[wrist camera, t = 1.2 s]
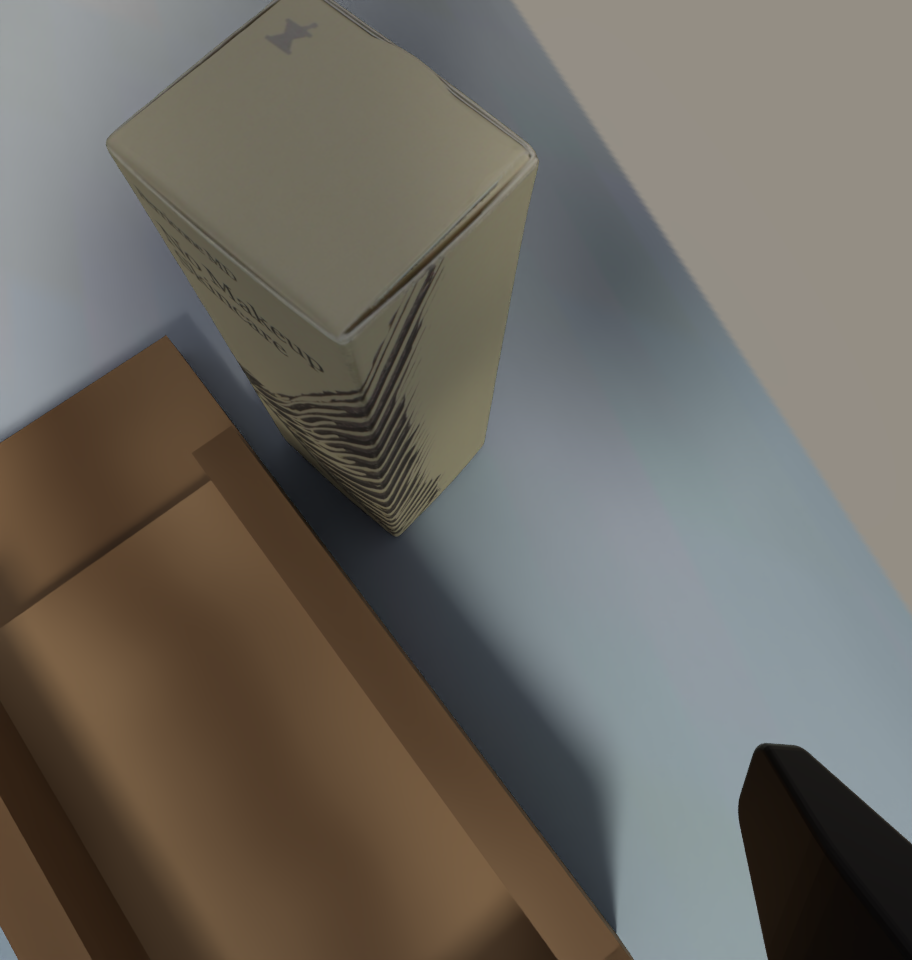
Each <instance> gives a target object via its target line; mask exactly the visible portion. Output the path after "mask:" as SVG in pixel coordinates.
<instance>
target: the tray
mask: <svg viewBox="0 0 912 960" xmlns="http://www.w3.org/2000/svg"><path fill="white" fill-rule="evenodd" d="M0 926H1V928H2V930H3V932H4V934H5V936H6V938H7V939H8V941H9V943H10V945H11V947H12V949H13V951H14V952H15V954H16V956H17V958H18V960H634V959H633V958H632V956H631V955H630V953H629V952H628V950H627V949H626V947H625V946H624V944H623V943H622V941H621V940H620V938H619V937H618V936H617V934H616V933H615V931H614V930H613V929H612V927H611V926H610V925H609V923H608V922H607V921H606V919H605V918H604V917H603V915H602V914H601V913H600V911H599V910H598V909H597V907H596V906H595V905H594V904H593V902H592V901H591V900H590V898H589V897H588V896H587V894H586V893H585V892H584V890H583V889H582V888H581V886H580V885H579V884H578V882H577V881H576V880H575V878H574V877H573V876H572V874H571V873H570V872H569V870H568V869H567V868H566V866H565V865H564V864H563V862H562V861H561V860H560V858H559V857H558V856H557V854H556V853H555V852H554V850H553V849H552V848H551V846H550V845H549V844H548V842H547V841H546V840H545V838H544V837H543V836H542V834H541V833H540V832H539V830H538V829H537V828H536V826H535V825H534V824H533V822H532V821H531V820H530V818H529V817H528V816H527V814H526V813H525V812H524V810H523V809H522V808H521V806H520V805H519V804H518V802H517V801H516V800H515V798H514V797H513V796H512V794H511V793H510V792H509V790H508V789H507V788H506V786H505V785H504V784H503V782H502V781H501V780H500V778H499V777H498V776H497V774H496V773H495V772H494V770H493V769H492V768H491V766H490V765H489V764H488V762H487V761H486V760H485V758H484V757H483V756H482V754H481V753H480V752H479V750H478V749H477V748H476V746H475V745H474V744H473V742H472V741H471V740H470V738H469V737H468V736H467V734H466V733H465V732H464V730H463V729H462V728H461V726H460V725H459V724H458V722H457V721H456V720H455V718H454V717H453V716H452V714H451V713H450V712H449V710H448V709H447V708H446V706H445V705H444V704H443V702H442V701H441V700H440V698H439V697H438V696H437V694H436V693H435V692H434V690H433V689H432V688H431V686H430V685H429V684H428V682H427V681H426V680H425V678H424V677H423V676H422V674H421V673H420V672H419V670H418V669H417V668H416V666H415V665H414V664H413V662H412V661H411V660H410V658H409V657H408V656H407V654H406V653H405V652H404V650H403V649H402V648H401V646H400V645H399V644H398V642H397V641H396V640H395V638H394V637H393V636H392V634H391V633H390V632H389V630H388V629H387V628H386V626H385V625H384V624H383V622H382V621H381V620H380V618H379V617H378V616H377V614H376V613H375V612H374V610H373V609H372V608H371V606H370V605H369V604H368V602H367V601H366V600H365V598H364V597H363V596H362V594H361V593H360V592H359V590H358V589H357V588H356V586H355V585H354V584H353V582H352V581H351V580H350V578H349V577H348V576H347V574H346V573H345V572H344V570H343V569H342V568H341V567H340V565H339V564H338V563H337V561H336V560H335V559H334V557H333V556H332V555H331V553H330V552H329V551H328V549H327V548H326V547H325V545H324V544H323V543H322V541H321V540H320V539H319V537H318V536H317V535H316V533H315V532H314V531H313V529H312V528H311V527H310V525H309V524H308V523H307V521H306V520H305V519H304V517H303V516H302V515H301V513H300V512H299V511H298V509H297V508H296V507H295V505H294V504H293V503H292V501H291V500H290V499H289V497H288V496H287V495H286V493H285V492H284V491H283V489H282V488H281V487H280V485H279V484H278V483H277V481H276V480H275V479H274V477H273V476H272V475H271V473H270V472H269V471H268V469H267V468H266V467H265V465H264V464H263V463H262V461H261V460H260V459H259V457H258V456H257V455H256V453H255V452H254V451H253V449H252V448H251V447H250V445H249V444H248V443H247V441H246V440H245V439H244V437H243V436H242V435H241V433H240V432H239V431H238V429H237V428H236V427H235V425H234V424H233V423H232V421H231V420H230V419H229V417H228V416H227V415H226V413H225V412H224V411H223V409H222V408H221V407H220V405H219V404H218V403H217V401H216V400H215V399H214V397H213V396H212V395H211V393H210V392H209V391H208V389H207V388H206V387H205V385H204V384H203V383H202V381H201V380H200V379H199V377H198V376H197V375H196V373H195V372H194V371H193V369H192V368H191V367H190V365H189V364H188V363H187V361H186V360H185V359H184V357H183V356H182V355H181V353H180V352H179V351H178V350H177V348H176V347H175V346H174V345H173V343H172V342H171V341H170V340H169V338H168V337H167V336H164V337H163V338H161V339H160V340H158V341H157V342H155V343H153V344H152V345H150V346H149V347H147V348H146V349H144V350H143V351H141V352H140V353H138V354H137V355H135V356H133V357H132V358H130V359H129V360H127V361H126V362H124V363H123V364H121V365H120V366H118V367H117V368H115V369H114V370H112V371H110V372H109V373H107V374H106V375H104V376H103V377H101V378H100V379H98V380H97V381H95V382H94V383H92V384H90V385H89V386H87V387H86V388H84V389H83V390H81V391H80V392H78V393H77V394H75V395H74V396H72V397H70V398H69V399H67V400H66V401H64V402H63V403H61V404H60V405H58V406H57V407H55V408H54V409H52V410H50V411H49V412H47V413H46V414H44V415H43V416H41V417H40V418H38V419H37V420H35V421H34V422H32V423H30V424H29V425H27V426H26V427H24V428H23V429H21V430H20V431H18V432H17V433H15V434H14V435H12V436H10V437H9V438H7V439H6V440H4V441H3V442H1V443H0Z"/></svg>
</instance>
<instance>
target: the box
mask: <svg viewBox="0 0 912 960" xmlns="http://www.w3.org/2000/svg"><path fill="white" fill-rule="evenodd" d="M106 146H107V149H108V151H109V153H110V154H111V156H112V158H113V159H114V161H115V162H116V164H117V166H118V167H119V169H120V170H121V172H122V174H123V175H124V177H125V178H126V180H127V181H128V183H129V184H130V186H131V188H132V189H133V191H134V193H135V194H136V196H137V197H138V199H139V201H140V202H141V204H142V206H143V207H144V209H145V211H146V212H147V214H148V215H149V217H150V219H151V220H152V222H153V223H154V225H155V227H156V228H157V230H158V232H159V233H160V235H161V237H162V238H163V240H164V241H165V243H166V245H167V246H168V248H169V250H170V251H171V253H172V255H173V256H174V258H175V259H176V261H177V263H178V264H179V266H180V267H181V269H182V270H183V272H184V274H185V275H186V277H187V279H188V280H189V282H190V284H191V285H192V287H193V289H194V290H195V292H196V294H197V295H198V297H199V299H200V301H201V302H202V304H203V305H204V307H205V308H206V310H207V311H208V313H209V315H210V316H211V318H212V320H213V322H214V323H215V325H216V327H217V328H218V330H219V332H220V333H221V335H222V337H223V338H224V340H225V342H226V343H227V345H228V347H229V348H230V350H231V352H232V353H233V355H234V356H235V358H236V360H237V361H238V363H239V365H240V366H241V368H242V370H243V371H244V373H245V374H246V376H247V377H248V379H249V381H250V383H251V384H252V386H253V387H254V389H255V391H256V393H257V394H258V396H259V398H260V399H261V401H262V403H263V404H264V406H265V407H266V409H267V411H268V412H269V414H270V416H271V417H272V419H273V420H274V422H275V424H276V426H277V427H278V429H279V431H280V432H281V434H282V435H283V437H284V438H285V439H286V441H287V442H288V443H289V444H290V445H292V446H293V447H294V448H295V449H296V450H297V451H298V452H299V453H300V454H301V455H302V456H303V457H304V458H305V459H306V460H307V461H308V462H309V463H310V464H312V465H313V466H314V467H315V468H316V469H317V470H318V471H319V472H320V473H321V474H322V475H323V476H324V477H325V478H326V479H328V480H329V481H330V482H331V483H332V484H333V485H334V486H335V487H336V488H337V489H339V490H340V491H341V492H342V493H343V494H344V495H345V496H346V497H347V498H349V499H350V500H351V501H352V502H353V503H354V504H356V505H357V506H358V507H359V508H361V509H362V510H363V511H364V512H365V513H366V514H368V515H369V516H370V517H371V518H372V519H373V520H375V521H376V522H377V523H378V524H379V525H381V526H382V527H383V528H384V529H385V530H386V531H388V532H389V533H390V534H392V535H393V536H396V537H397V536H400V535H401V534H402V533H403V532H404V531H405V530H406V529H407V528H408V527H409V526H410V525H411V524H412V523H413V522H414V521H415V519H416V518H417V517H418V516H419V515H420V514H421V513H422V512H423V511H424V510H425V509H426V508H427V507H428V506H429V505H430V504H431V503H432V502H433V501H434V500H435V499H436V498H437V497H438V496H439V495H440V494H441V493H442V492H443V491H444V490H445V488H446V487H447V486H448V485H449V484H450V483H451V482H452V481H453V480H454V479H455V478H456V476H457V475H458V474H459V473H460V472H461V471H462V470H463V468H464V467H465V466H466V465H467V464H468V463H469V461H470V460H471V459H472V458H473V457H474V455H475V454H476V453H477V452H478V451H479V449H480V448H481V447H482V446H483V444H484V441H485V436H486V430H487V425H488V419H489V414H490V408H491V403H492V397H493V392H494V386H495V381H496V375H497V369H498V364H499V359H500V353H501V348H502V343H503V338H504V332H505V327H506V322H507V317H508V311H509V306H510V300H511V294H512V289H513V284H514V279H515V273H516V268H517V263H518V257H519V252H520V247H521V242H522V237H523V232H524V226H525V221H526V216H527V211H528V207H529V203H530V199H531V194H532V190H533V186H534V182H535V177H536V174H537V170H538V164H539V160H538V158H537V155H536V152H535V151H534V150H533V148H532V147H531V146H530V145H529V144H528V143H527V142H526V141H524V140H523V139H522V138H521V137H519V136H518V135H517V134H515V133H514V132H513V131H512V130H510V129H509V128H508V127H506V126H505V125H504V124H502V123H501V122H500V121H499V120H497V119H496V118H495V117H493V116H492V115H491V114H489V113H488V112H486V111H485V110H484V109H483V108H481V107H480V106H479V105H478V104H477V103H475V102H474V101H473V100H471V99H470V98H468V97H467V96H466V95H464V94H463V93H462V92H461V91H459V90H458V89H457V88H455V87H454V86H452V85H451V84H450V83H448V82H447V81H446V80H444V79H443V78H442V77H440V76H439V75H438V74H436V73H435V72H434V71H433V70H432V69H430V68H429V67H428V66H427V65H425V64H424V63H423V62H422V61H420V60H419V59H418V58H416V57H415V56H413V55H412V54H410V53H408V52H407V51H405V50H403V49H402V48H400V47H398V46H397V45H395V44H394V43H393V42H391V41H390V40H389V39H387V38H386V37H384V36H383V35H381V34H380V33H378V32H377V31H376V30H374V29H373V28H371V27H370V26H368V25H367V24H366V23H364V22H363V21H361V20H360V19H359V18H357V17H356V16H355V15H353V14H352V13H350V12H349V11H348V10H346V9H345V8H343V7H342V6H340V5H339V4H337V3H336V2H335V1H333V0H274V1H272V2H271V3H270V4H269V5H267V6H266V7H265V9H263V10H262V11H261V12H259V13H258V14H257V15H256V16H254V17H253V18H252V19H250V20H249V21H248V22H246V23H245V24H244V25H243V26H242V27H240V28H239V29H238V30H237V31H235V32H234V33H233V34H232V35H230V36H229V37H228V38H227V39H225V40H224V41H223V42H221V43H220V44H219V45H218V46H217V47H215V48H214V49H213V50H212V51H210V52H209V53H208V54H207V55H205V56H204V57H203V58H202V59H201V60H200V61H198V62H197V63H196V64H195V65H193V66H192V67H191V68H190V69H189V70H187V71H186V72H185V73H184V74H182V75H181V76H180V77H179V78H178V79H177V80H176V81H174V82H173V83H172V84H171V85H169V86H168V87H167V88H166V89H164V90H163V91H162V92H161V93H159V94H158V95H157V96H156V97H155V98H154V99H153V100H152V101H150V102H149V103H148V104H146V105H145V106H144V107H143V108H141V109H140V110H139V111H138V112H136V113H135V114H134V115H133V116H132V117H131V118H129V119H128V120H127V121H126V122H125V123H124V124H122V125H121V126H120V127H119V128H118V129H117V130H115V131H114V132H113V133H112V134H111V135H110V136H109V137H108V138H107V142H106Z"/></svg>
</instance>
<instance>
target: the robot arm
mask: <svg viewBox="0 0 912 960" xmlns="http://www.w3.org/2000/svg"><path fill="white" fill-rule="evenodd" d="M738 815H739V823H740V829H741V833H742V838H743V843H744V848H745V852H746V857H747V862H748V867H749V872H750V876H751V881H752V886H753V891H754V896H755V900H756V905H757V910H758V915H759V920H760V924H761V929H762V934H763V939H764V944H765V948H766V953H767V957H768V960H912V844H911V843H910V842H909V841H908V840H907V839H906V838H905V837H903V836H902V835H901V834H900V833H899V832H898V831H897V830H895V829H894V828H893V827H892V826H891V825H890V824H889V823H888V822H886V821H885V820H884V819H883V818H882V817H881V816H880V815H879V814H877V813H876V812H875V811H874V810H873V809H872V808H871V807H869V806H868V805H867V804H866V803H865V802H864V801H863V800H862V799H860V798H859V797H858V796H857V795H856V794H855V793H854V792H853V791H851V790H850V789H849V788H848V787H847V786H846V785H845V784H843V783H842V782H841V781H840V780H839V779H838V778H837V777H836V776H834V775H833V774H832V773H831V772H830V771H829V770H828V769H827V768H825V767H824V766H823V765H822V764H821V763H820V762H819V761H817V760H816V759H815V758H814V757H813V756H812V755H811V754H810V753H808V752H807V751H806V750H804V749H803V748H801V747H799V746H795V745H785V744H771V743H764V744H760V745H759V746H758V747H757V748H756V749H755V751H754V753H753V756H752V759H751V762H750V765H749V768H748V772H747V775H746V778H745V781H744V784H743V788H742V791H741V794H740V798H739V805H738Z"/></svg>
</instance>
